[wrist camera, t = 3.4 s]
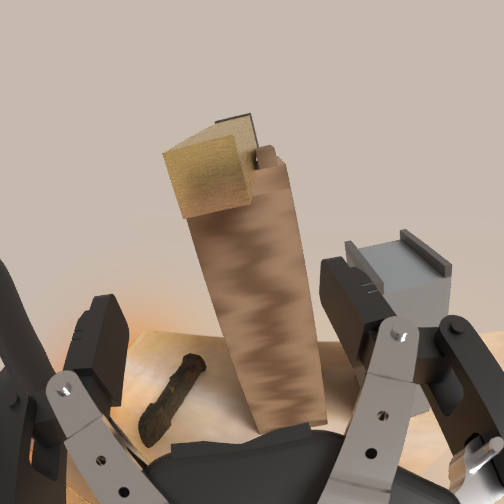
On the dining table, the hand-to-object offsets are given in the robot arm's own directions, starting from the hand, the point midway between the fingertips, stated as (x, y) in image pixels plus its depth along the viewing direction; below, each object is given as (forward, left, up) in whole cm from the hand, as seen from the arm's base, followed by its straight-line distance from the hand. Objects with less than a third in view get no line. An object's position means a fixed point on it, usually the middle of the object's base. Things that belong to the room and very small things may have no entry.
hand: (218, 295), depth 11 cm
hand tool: (-18, +22, -30) cm, 41 cm away
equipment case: (+14, +18, -29) cm, 37 cm away
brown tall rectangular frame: (0, +21, -29) cm, 36 cm away
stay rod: (0, +17, +3) cm, 17 cm away
